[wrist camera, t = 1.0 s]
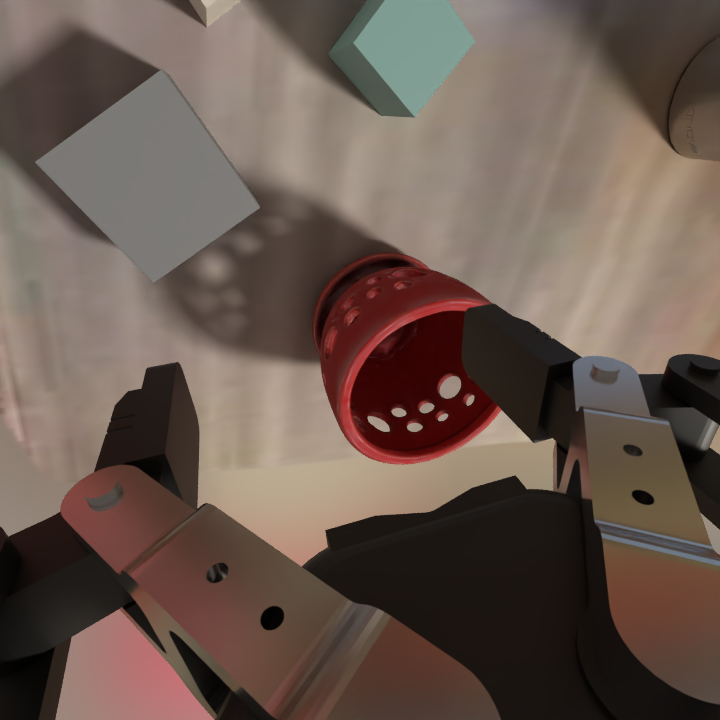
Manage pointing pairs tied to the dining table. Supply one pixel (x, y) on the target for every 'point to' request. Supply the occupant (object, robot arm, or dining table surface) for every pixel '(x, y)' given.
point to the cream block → (212, 9)
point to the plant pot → (398, 357)
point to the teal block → (401, 52)
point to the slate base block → (151, 177)
